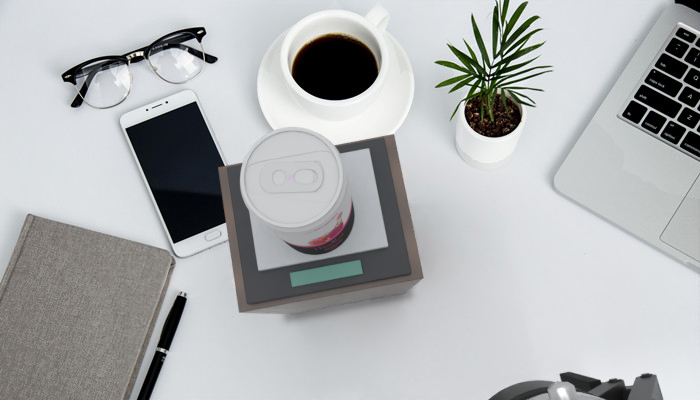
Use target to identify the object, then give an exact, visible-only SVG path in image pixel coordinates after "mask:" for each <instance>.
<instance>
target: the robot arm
mask: <svg viewBox="0 0 700 400" xmlns="http://www.w3.org/2000/svg"><path fill="white" fill-rule="evenodd" d="M559 378H560V381H558V380H557V381H552V380H543V379H541V380H540V379H536V380H535V379H533V380H527V381H523V382H518V383H514V384H511V385H509V386H507V387H505V388H503V389H501V390H499V391H497V392H496V393H494V394H493V395H491V397H489V398H488V399H487V400H664V396H663V393H662V389H661V386H660V383H659V379H658V376H657V374H654V373H650V372H646V373H641V374H640V375H639V376H636V377H635V378H634V380H633V384H632V385H626V382H625V380H624V379H622V378H617V377H613V378H609V379H608V380H607V381H602V380H601V379H599V378H595V377H591V376H588V375H584V374H579V373H576V372H572V371H566V372H561V373H559Z"/></svg>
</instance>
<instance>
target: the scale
mask: <svg viewBox="0 0 700 400" xmlns="http://www.w3.org/2000/svg"><path fill="white" fill-rule="evenodd" d="M336 148H337V150H338V151H339V153H340V154H341V156H342V159H343V161H344V164H345V168H346V173H347V177H348V182H349V187H350V192H351V197H352V201H353V206H354V213H355V218H354V224H353V228H352V231H351V233H350V235H349V236H348V238H347V239H346V240H345V242H344V243H343V244H342V245H340V246H339V247H338V248H336V249H335V250H333V251H331V252H328V253H325V254H320V255H309V254H304V253H301V252H299V251H296V250H295V249H293V248H292V247H290V246H289V245H288V244H287V243H285V242H284V241H283V240H282V239H280V238H279V237H278V236H277V235H276V234H274V233H273V232H272V231H271V230H269V229H268V228H267V227H266V226H265V225H263V224H262V223H261V222H260V221H258V220H257V219H256V218H255V217H254V216H253V215H252V214H251V212H250V211H249V210H248V208H247V206H246V204H245V202H244V200H243V197H242V194H241V189H240V173H241V168H242V165H237V166H231V167H227V173H228V180H229V187H230V194H231V200H232V207H233V214H234V221H235V227H236V234H237V241H238V247H239V254H240V261H241V268H242V274H243V281H244V288H245V295H246V301H247V304H250V305H251V304H256V303H262V302H267V301H272V300H278V299H283V298H288V297H294V296H299V295H304V294H310V293H315V292H320V291H326V290H331V289H336V288H341V287H347V286H352V285H357V284H363V283H368V282H373V281H379V280H384V279H389V278H395V277H400V276H405V275H410V274H411V273H412V272H411V267H410V262H409V257H408V252H407V247H406V242H405V237H404V233H403V228H402V223H401V218H400V213H399V208H398V203H397V198H396V193H395V188H394V183H393V178H392V173H391V168H390V163H389V159H388V154H387V149H386V144H385V139H384V138H379V139H374V140H369V141H364V142H358V143H353V144H348V145H342V146H337V147H336Z"/></svg>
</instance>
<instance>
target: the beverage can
mask: <svg viewBox="0 0 700 400" xmlns="http://www.w3.org/2000/svg"><path fill="white" fill-rule="evenodd" d="M334 145H335V144H334V143H333V142H332V141H330V140H329V139H328V138H327V137H326V136H324V135H322V134H321V133H319V132H317V131H314V130H312V129H309V128H306V127H299V126H286V127H279V128H276V129H274V130H272V131H270V132H267V133H266V134H264V135H262V136H261V137H260V138H259V139H257V140H256V141H255V142H254V143H253V144H252V145H251V147H250V148H249V150H248V151H247V153H246V155H245V157H244V159H243V161H242V163H243V164H242V168H241V173H240V189H241V194H242V197H243V200H244V202H245V204H246V206H247V208H248V210H249V211H250V212H251V214H252V215H253V216H254V217H255V218H256V219H257V220H258V221H260V222H261V223H262V224H263V225H265V226H266V227H267V228H268V229H269V230H271V231H272V232H273V233H274V234H276V235H277V236H278V237H279V238H280V239H282V240H283V241H284V242H285V243H287V244H288V245H289V246H290V247H292V248H293V249H295V250H296V251H299V252H301V253H304V254H309V255H320V254H325V253H328V252H331V251H333V250H335V249H336V248H338V247H339V246H340V245H342V244H343V243H344V242H345V240H346V239H347V238H348V236H349V235H350V233H351V231H352V228H353V224H354V218H355V213H354V206H353V201H352V197H351V192H350V187H349V182H348V177H347V173H346V168H345V164H344V161H343V159H342V156H341V154H340V153H339V151H338V150H337V148H336V147H335V146H334Z"/></svg>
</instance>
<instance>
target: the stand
mask: <svg viewBox="0 0 700 400" xmlns="http://www.w3.org/2000/svg"><path fill="white" fill-rule="evenodd" d="M395 136H396V135H395V134H394V133H392V134H386V135H381V136H376V137H370V138H366V139H365V138H364V139H359V140H354V141H350V142H344V143H339V144H333V145H334V146H335V147H337V146H342V145H348V144H353V143H358V142H364V141H369V140H374V139H379V138H384V139H385V144H386V149H387V154H388V159H389V163H390V168H391V173H392V178H393V183H394V188H395V193H396V198H397V203H398V208H399V213H400V218H401V223H402V228H403V233H404V237H405V242H406V247H407V252H408V257H409V262H410V267H411V272H412V273H411V274H410V275H405V276H400V277H395V278H389V279H384V280H379V281H373V282H368V283H363V284H357V285H352V286H347V287H341V288H336V289H331V290H326V291H320V292H315V293H310V294H304V295H299V296H294V297H288V298H283V299H278V300H272V301H267V302H262V303H256V304H251V305H250V304H247V301H246V295H245V288H244V281H243V274H242V268H241V261H240V254H239V247H238V241H237V234H236V227H235V221H234V214H233V207H232V200H231V194H230V187H229V180H228V173H227V167H231V166H237V165H242V164H243V162H239V163H233V164H228V165H224V166H218V167H217V171H218V178H219V184H220V192H221V197H222V205H223V210H224V211H223V212H224V218H225V224H226V226H225V227H226V232H227V239H228V246H229V253H230V259H231V267H232V273H233V281H234V287H235V294H236V301H237V308H238V313H240V314H264V315H265V314H266V315H296V314H301V313H306V312H311V311H317V310H322V309H328V308H332V307H338V306H344V305H348V304H354V303H360V302H364V301H371V300H375V299H381V298H385V297H392V296H397V295H401V294H406V293H407V292H409V291H410V290H411V289H412V288H413V287H415V286H416V285H417V284H418V283H420V282H421V281H422V280H423V279H424V278H425V277H424V273H423V268H422V263H421V258H420V253H419V248H418V243H417V239H416V234H415V229H414V225H413V220H412V215H411V209H410V204H409V199H408V195H407V190H406V185H405V180H404V176H403V175H404V174H403V171H402V166H401V160H400V155H399V151H398V147H397V142H396V137H395Z"/></svg>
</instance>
